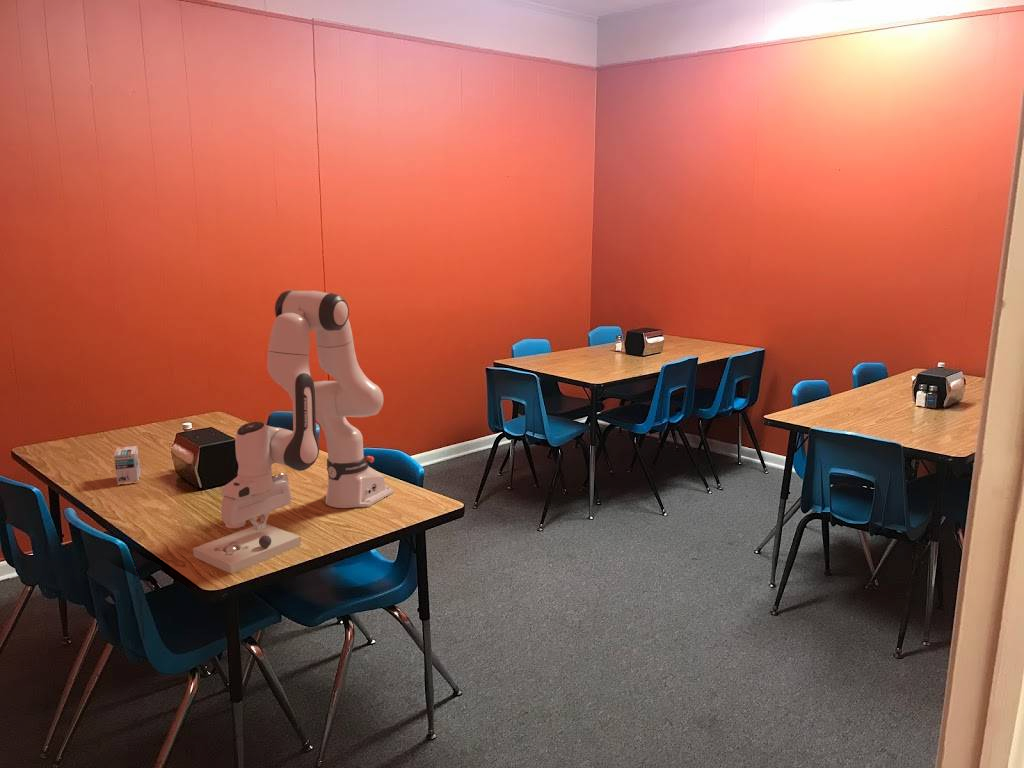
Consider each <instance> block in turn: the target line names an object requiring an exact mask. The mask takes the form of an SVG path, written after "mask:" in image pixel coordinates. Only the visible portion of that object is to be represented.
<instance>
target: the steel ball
mask: <svg viewBox="0 0 1024 768" xmlns="http://www.w3.org/2000/svg"><path fill="white" fill-rule="evenodd" d="M235 551H237V548H236V547H235V546H229V547H227V548H226V550H225V552H235Z"/></svg>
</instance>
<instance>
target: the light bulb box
mask: <svg viewBox="0 0 1024 768" xmlns="http://www.w3.org/2000/svg"><path fill="white" fill-rule="evenodd" d="M113 458H114V467H115V474H116V482H117V483H125V482H136V481H138V480H139V481H140V479H139V476H140V477H141V475H140V474H141V466H140V459H139V450H138V445H132V446H121V447H120V446H118V447H116V450H115V452H114V455H113Z"/></svg>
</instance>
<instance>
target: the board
mask: <svg viewBox="0 0 1024 768" xmlns="http://www.w3.org/2000/svg"><path fill="white" fill-rule="evenodd" d="M264 535H267V536H269V537H270V538H271V544H270V545H269V546H268V547H261V546H260V544H259V539H260V538H261V537H262V536H264ZM301 545H302V538H301V535H297V534H294V533H293V532H290V531H286V530H285V529H281V528H279V527H276V526H273V525H270V524H268V523H266V528H264V529H261V530H259V531H255V530H254V529H253V525H252V526H249V527H246V528H245V529H244V528H243V529H242V530H238V531H236V532H234V533H230V534H228V535H225V536H222V537H220V538H217V539H214V540H212V541H209V542H206V543H203V544H201V545H197V546H196V547H193V548H192V551H193V553H192V554H193V558H195V559H197V560H200V561H202V562H204V563H206V564H209V565H210V566H213V567H216V568H217V569H220V570H221V571H224V572H226V573H229V574H230V575H231V574H232V575H233V574H235V573H237V572H239V571H242V570H244V569H246V568H249V567H251V566H254V565H256V564H259V563H261V562H263V561H265V560H268V559H270V558H273V557H275V556H278V555H280V554H283V553H285V552H287V551H289V550H293V549H296V548H297V547H300V546H301ZM229 546H235V547H236V548H237V551H235V552H225V550H226V548H227V547H229Z"/></svg>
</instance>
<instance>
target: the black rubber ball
mask: <svg viewBox="0 0 1024 768" xmlns="http://www.w3.org/2000/svg"><path fill="white" fill-rule="evenodd" d="M259 544H260V546H261V547H268V546H269V545H270V544H271V538H270V537H269V536H267V535H264V536H262V537H261V538H260V539H259Z"/></svg>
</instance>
